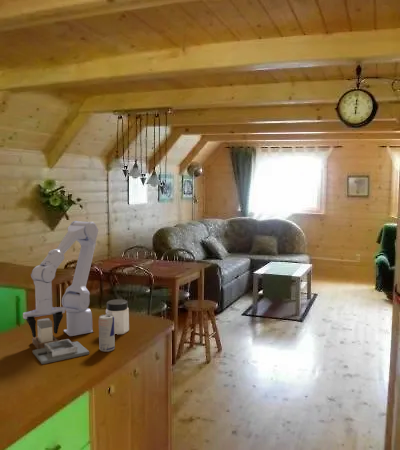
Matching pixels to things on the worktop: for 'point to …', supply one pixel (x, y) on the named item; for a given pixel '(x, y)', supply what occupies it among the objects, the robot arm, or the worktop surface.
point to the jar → (119, 315)
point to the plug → (44, 330)
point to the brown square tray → (41, 345)
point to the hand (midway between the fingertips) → (45, 334)
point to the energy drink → (106, 333)
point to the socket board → (59, 351)
